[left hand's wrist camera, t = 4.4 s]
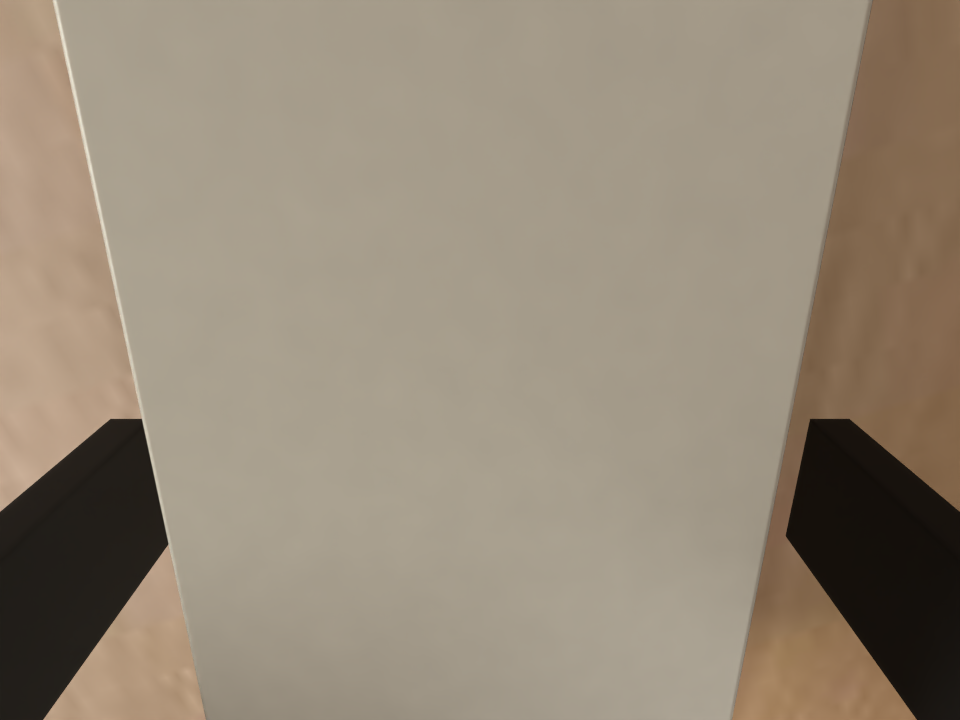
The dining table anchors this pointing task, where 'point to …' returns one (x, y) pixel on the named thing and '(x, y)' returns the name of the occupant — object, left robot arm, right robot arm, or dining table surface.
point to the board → (465, 333)
